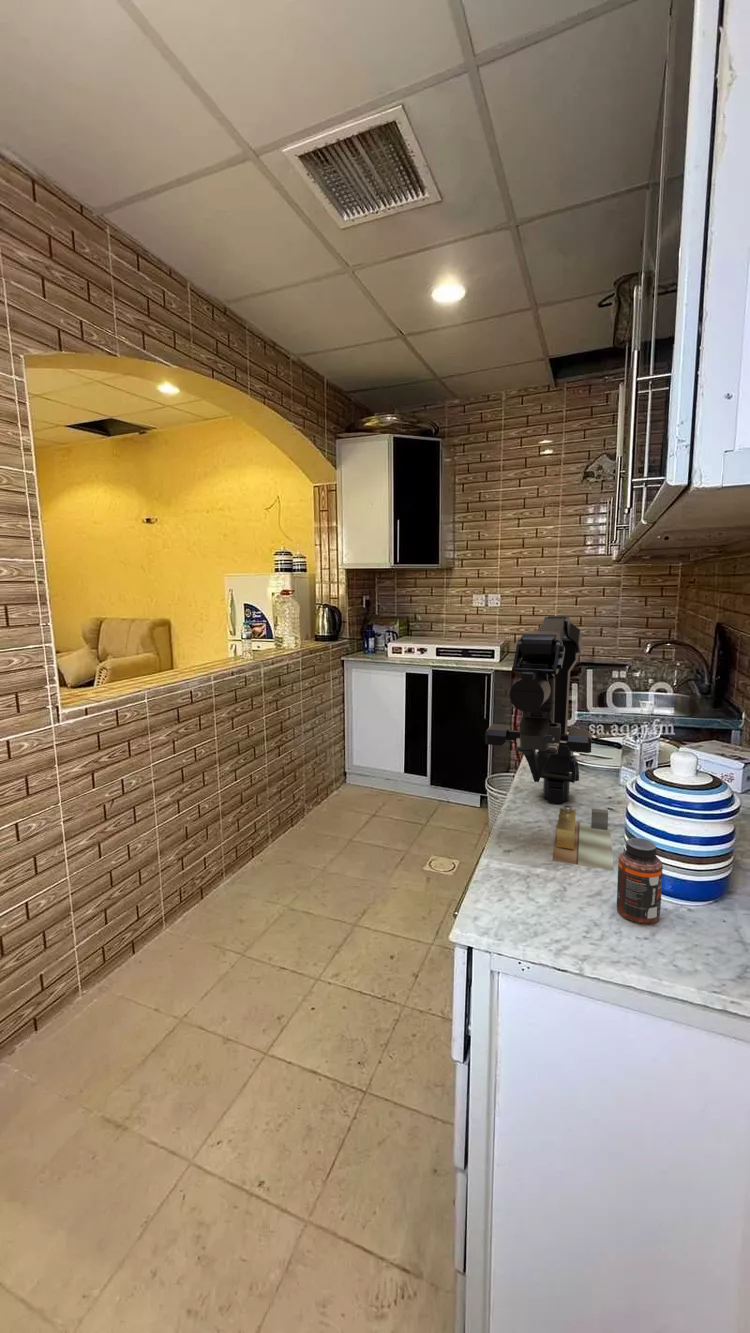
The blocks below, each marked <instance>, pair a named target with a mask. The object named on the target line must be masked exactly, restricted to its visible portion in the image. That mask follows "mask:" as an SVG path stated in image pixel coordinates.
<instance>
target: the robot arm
mask: <svg viewBox="0 0 750 1333" xmlns="http://www.w3.org/2000/svg"><path fill="white" fill-rule="evenodd" d="M582 650H583V638H582V632H581V629H580V628H579V627H577V626H576V625H574V624H573V623H572V622H571V618H570V616H566V615H548V616H545V617H544V619H543V623H542V624H541V625H540V626H539V628H538V629H536V631H529V632H525V633H523V634H522V635H520V638H519V639H517V642H516V646H515V652H514V657H513V664H512V669H511V670H512V673H520V678H519V679H518V680H517V681H516V682H514V683H513V685H512V686H511V688H510V691H509V699H510V702H511V704H512V705H513V707H514V708H515V709H517V710H519V711H520V712H521V720H520V723H519V730H514V729H513V730H512V729H511V725H510V724H499V723H492V724H490V725H489V726H488V728H487V729H486V731H485V735H484V738H485V739H484V743H485V744H486V745H487V746H488V745H489V746H490V745H491V746H500V747H501V746H503V745H504V744H505V743H506V742H507V741H516V747H515V750H516V751H517V752H521V754H523V756H524V757H525V759H526V761H527V764H528V767H529V771H530V773H531V776H532V778H533V782H535V783H540V780H541V779H543V787H542V788H543V790H542V793H543V794H542V798H543V800H545V801H546V802H547V803H548V804H550V805H558V806H562V805H563V804H565V803H568V802H569V801H570V784H571V783H572V784H575V782H579V781H580V765H579V764H580V763H579V762H578V761H577V760H578V759H577V756H576V755H574V753H581V754H582V753H584V754H590V753H592V733H591V732H590V731H589V730H586V729H585V730H584V729H571V728H569V729H568V720H569V700H570V699H569V698H570V683H571V682H570V681H571V671H572V670H573V668H574V667H575V666H576V664H577V663H578V661H579V655H580V654H581V653H582Z"/></svg>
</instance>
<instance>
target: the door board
mask: <svg viewBox="0 0 750 1333" xmlns="http://www.w3.org/2000/svg"><path fill="white" fill-rule="evenodd" d="M557 827H558V821H557V823H556V830H555V836H554V845H553V852H552V862H558V863H564V864H569V865H570V864H571V865H577V866H582V867H583V866H584V867H589V868H595V869H600V870H609V871H614V860H613V859H614V858H613V857H614V856H613V848H612V847H613V846H612V836H611V835H612V834H611V826H609V825H608V830H601V829H594V828H591V823H586V822H580V821H579V822H578V821H575V840H574V849H569V848H562V847H557Z"/></svg>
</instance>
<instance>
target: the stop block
mask: <svg viewBox="0 0 750 1333" xmlns="http://www.w3.org/2000/svg"><path fill="white" fill-rule="evenodd" d="M608 823H609V810H606V809H597V808H591V819H590V824H591V828H594V829H601V830H608V826H609V824H608Z"/></svg>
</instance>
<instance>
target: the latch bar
mask: <svg viewBox="0 0 750 1333" xmlns="http://www.w3.org/2000/svg"><path fill="white" fill-rule="evenodd" d="M576 812H577V810H576V809H573V807H572V806H570V805H564V806H563V808H559V811H558V819H557V822H558V827H557V826H556V829H557V847H562V848H569V849H574V840H575V822H576V816H577V815H576V814H577V813H576Z"/></svg>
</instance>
